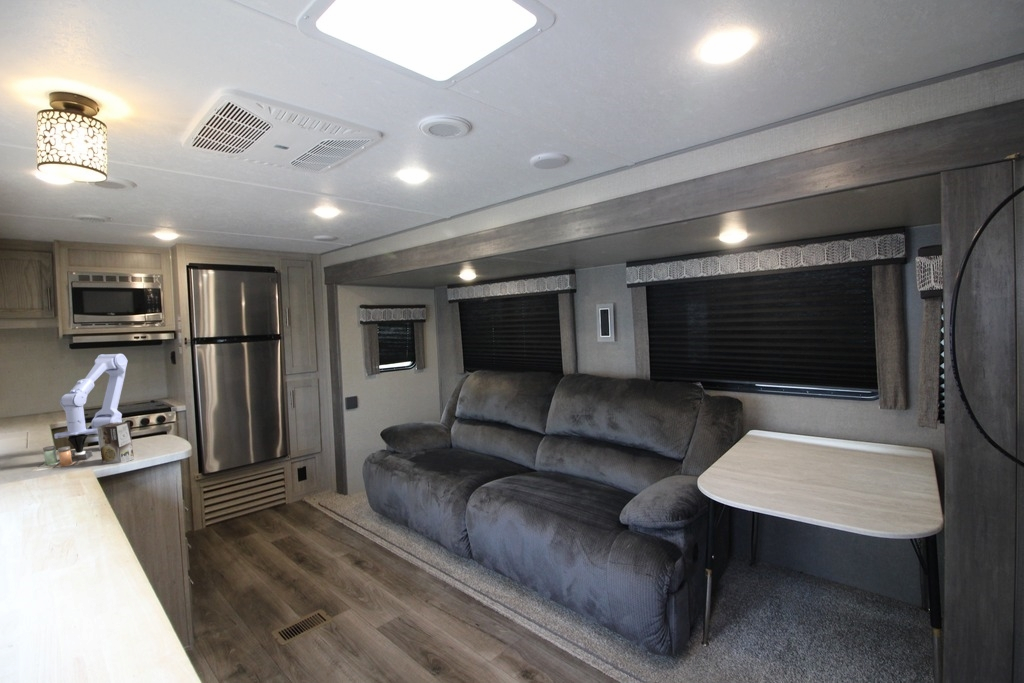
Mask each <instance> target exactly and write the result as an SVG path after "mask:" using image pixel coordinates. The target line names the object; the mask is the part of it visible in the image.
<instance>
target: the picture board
mask: <svg viewBox="0 0 1024 683" xmlns="http://www.w3.org/2000/svg"><path fill="white" fill-rule="evenodd" d="M84 451H85V454H82V455H75V452H73V453H71V458H72V464H70V465H65V466H61V465H60V459H59V460H58V459H57V463H55V464H51V465H45V462H42V463H41V464H39V465H38V466H37V467H36V468H33V470H31V472H37V471H42V470H43V471H44V470H49V469H56V468H57V469H58V468H65V467H74V466H78V465H80V464H82V463H83V462H85V461H87V460H88V459H90V458H92V457H93V450H84Z"/></svg>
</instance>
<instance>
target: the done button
mask: <svg viewBox="0 0 1024 683" xmlns="http://www.w3.org/2000/svg"><path fill="white" fill-rule="evenodd" d="M85 451H86V450H83V451H82V452H81V453H77V452H76V451H75V452H74V453H75V455H82V454H85Z"/></svg>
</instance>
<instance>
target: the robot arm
mask: <svg viewBox="0 0 1024 683" xmlns="http://www.w3.org/2000/svg"><path fill="white" fill-rule="evenodd" d="M128 362H129V361H128V359H127V357H126V356H125V354H123V353H112V354H111V353H110V354H102V353H101V354H99V355H98V356H97V357H96V359H94V365H93V366H92V368H91V369H90V371H89V372H88V374H87V375H86V376H85V378H81V379H79V380H77V382H76V384H75V385H74V386H73V387H72V388H71V389H70V391H69V392H68V393H66V394H65V393H64V394H63V396H61V398H60V401H59V404H60V406H61V407H62V408H63V412H65V418H66V419H65V420H66V427H67V431H62V432H56V433H54V434H53V435H54V439H61V438H62V439H63V438H67V441H68V442H69V443H71V446H72V447H74V450H75V452H77V453H81V452H82V451H84V447H85V443H86V440H87V438H88V435H94V434H95V435H97V441H98V448H99V450H100V443H99V436H98V429H97V427H99V426H102V425H105V424H108V423H119V422H123V420H122V416H123V413H121V412H120V411H119V410H118V408H119V402H120V399H121V394H122V390H123V386H124V381H125V378H126V370H127V365H128ZM104 373H106V374H108V375H109V378H108V381H107V384H106V385H107V387H106V390H105V394H104V399H103V403H102V405H101V409H99V411H97V412H95V414H94V417H93V418H92V420H91V424H90V426H91V428H86V426H87V425H86V418H85V409H84V405H85V404H86V403H87V399H88V395H89V394H90V392H91V391H92V390H93V389H94V388H95V382H96V381H97V380H98V378H100V376H101V375H102V374H104Z"/></svg>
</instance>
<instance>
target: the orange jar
mask: <svg viewBox="0 0 1024 683" xmlns="http://www.w3.org/2000/svg"><path fill="white" fill-rule="evenodd" d="M57 453H58V457H59V458H58V459H59V460H60V465H61V466H65V465H70V464H72V458H71V455H72V452H71V446H70V445H69V446H68V445H67V446H62V447H58V448H57Z"/></svg>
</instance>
